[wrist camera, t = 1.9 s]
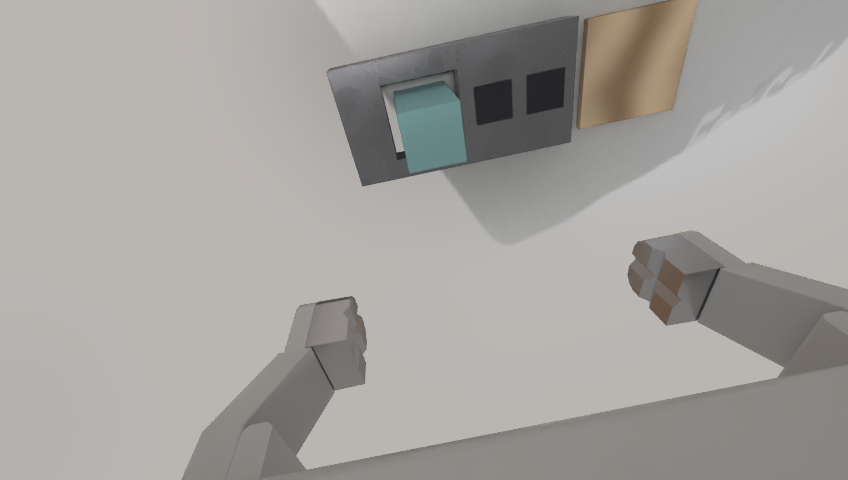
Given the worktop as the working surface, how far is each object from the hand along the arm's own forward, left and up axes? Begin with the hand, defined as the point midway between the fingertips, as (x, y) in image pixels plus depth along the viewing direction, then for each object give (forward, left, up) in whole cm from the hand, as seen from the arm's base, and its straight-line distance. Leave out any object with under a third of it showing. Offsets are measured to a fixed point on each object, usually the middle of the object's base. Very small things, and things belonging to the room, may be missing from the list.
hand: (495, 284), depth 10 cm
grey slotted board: (-3, +1, -25) cm, 25 cm away
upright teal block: (0, +1, -25) cm, 25 cm away
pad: (-19, +1, -25) cm, 31 cm away
